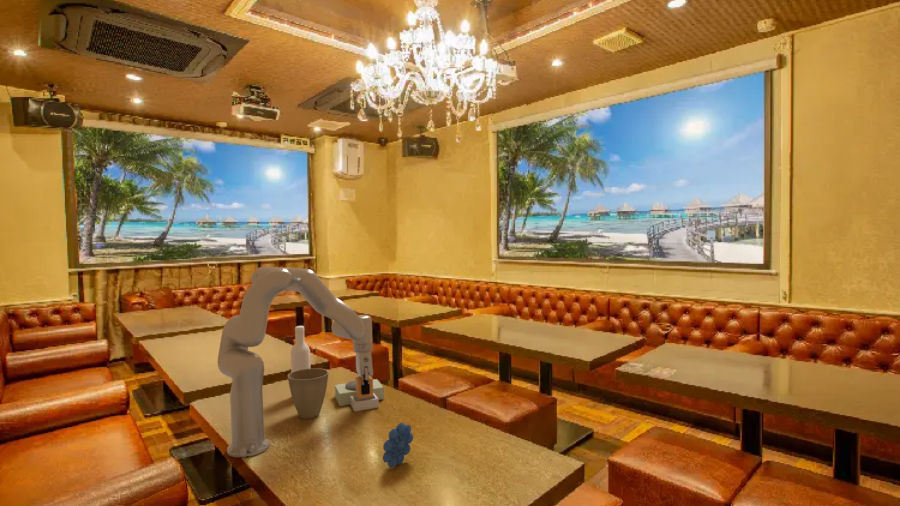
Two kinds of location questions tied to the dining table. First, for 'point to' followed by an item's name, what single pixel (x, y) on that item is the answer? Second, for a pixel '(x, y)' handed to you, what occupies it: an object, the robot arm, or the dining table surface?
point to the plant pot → (308, 390)
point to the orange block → (358, 387)
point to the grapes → (397, 444)
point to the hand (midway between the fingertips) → (364, 391)
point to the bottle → (300, 351)
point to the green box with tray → (348, 397)
